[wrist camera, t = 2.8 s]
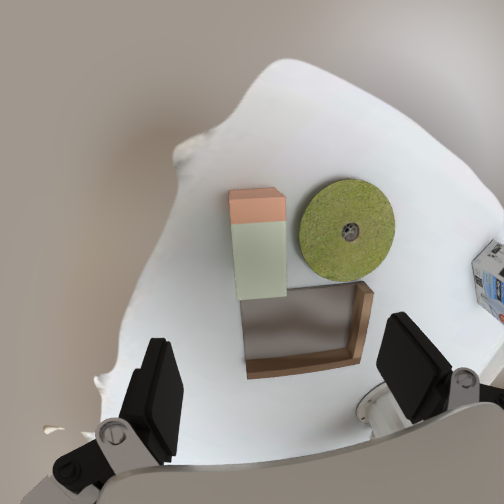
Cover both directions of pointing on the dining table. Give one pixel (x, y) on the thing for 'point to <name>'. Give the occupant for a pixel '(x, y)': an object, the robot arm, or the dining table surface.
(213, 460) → the dining table surface
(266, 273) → the peach green box
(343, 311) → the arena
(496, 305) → the light bulb box
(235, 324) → the dining table surface
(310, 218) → the green flat disc
